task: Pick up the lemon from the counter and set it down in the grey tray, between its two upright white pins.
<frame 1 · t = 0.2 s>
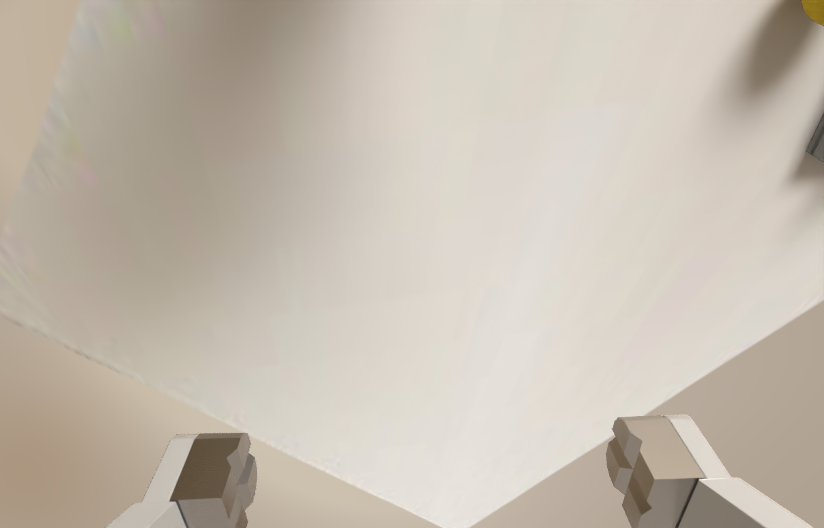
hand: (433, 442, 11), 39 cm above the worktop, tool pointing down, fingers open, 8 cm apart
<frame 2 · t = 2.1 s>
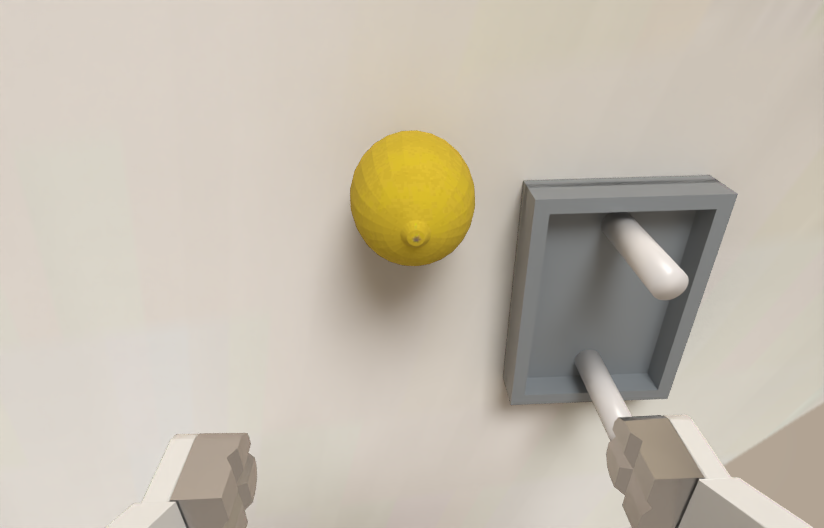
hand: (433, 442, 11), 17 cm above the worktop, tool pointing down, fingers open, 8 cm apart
lemon: (409, 164, 26), on the worktop
tray: (594, 287, 30), on the worktop
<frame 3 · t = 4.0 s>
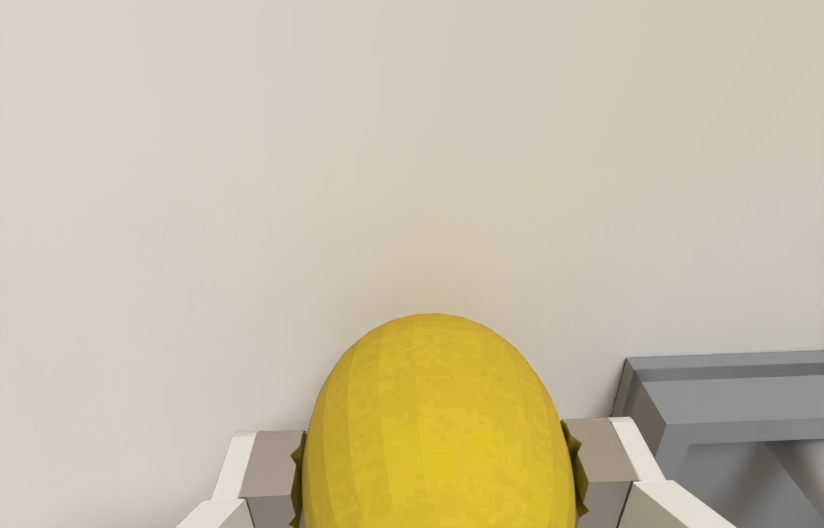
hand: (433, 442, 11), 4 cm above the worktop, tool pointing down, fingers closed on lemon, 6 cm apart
lemon: (423, 334, 14), on the worktop, touching gripper
tray: (722, 497, 19), on the worktop
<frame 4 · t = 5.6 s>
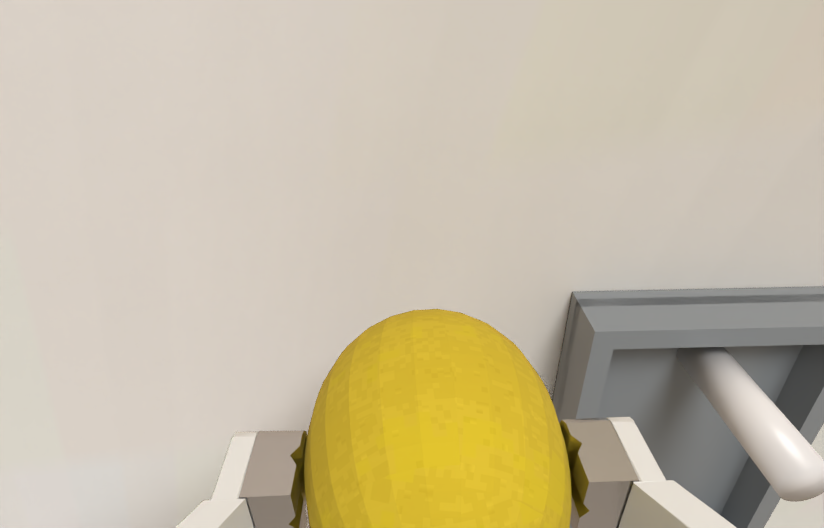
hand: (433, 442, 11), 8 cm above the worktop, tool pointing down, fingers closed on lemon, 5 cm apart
lemon: (423, 331, 15), point 4 cm above the worktop, touching gripper
tray: (656, 417, 23), on the worktop
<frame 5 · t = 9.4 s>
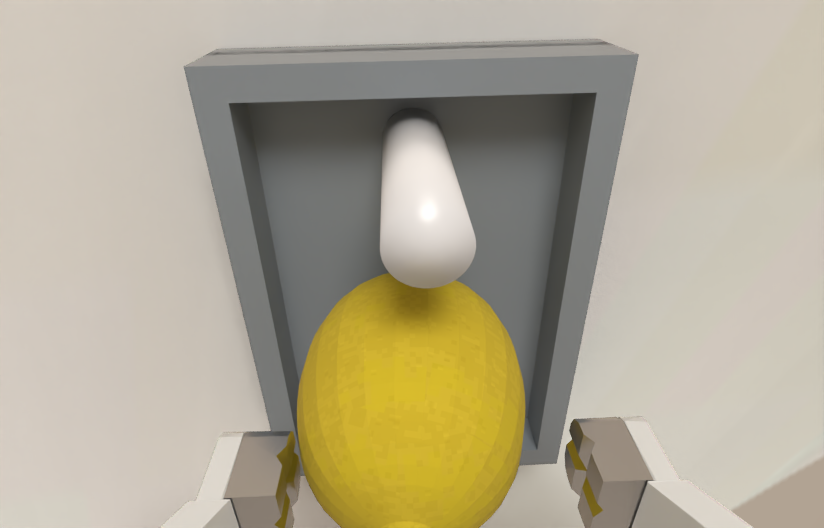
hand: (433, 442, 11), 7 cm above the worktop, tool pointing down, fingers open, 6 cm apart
lemon: (415, 289, 16), point 1 cm above the worktop, touching tray
tray: (414, 270, 17), on the worktop
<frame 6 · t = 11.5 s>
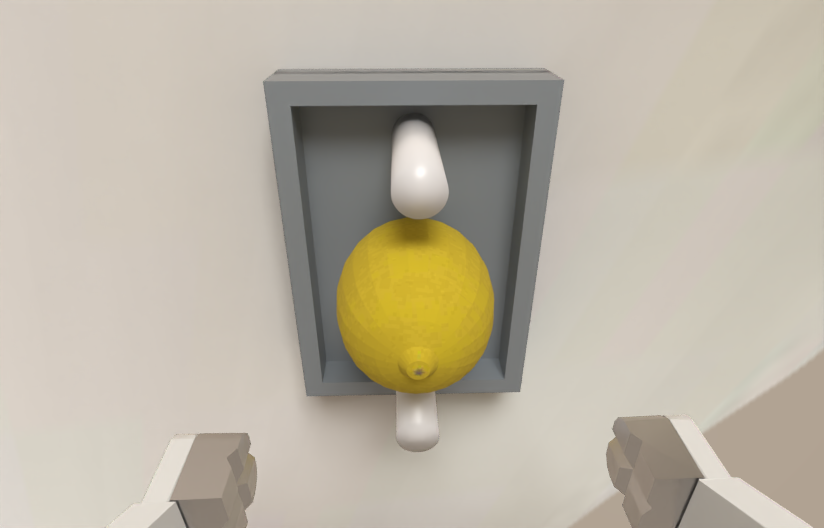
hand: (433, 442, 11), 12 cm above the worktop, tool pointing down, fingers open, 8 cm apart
lemon: (412, 248, 22), point 1 cm above the worktop, touching tray
tray: (412, 236, 22), on the worktop
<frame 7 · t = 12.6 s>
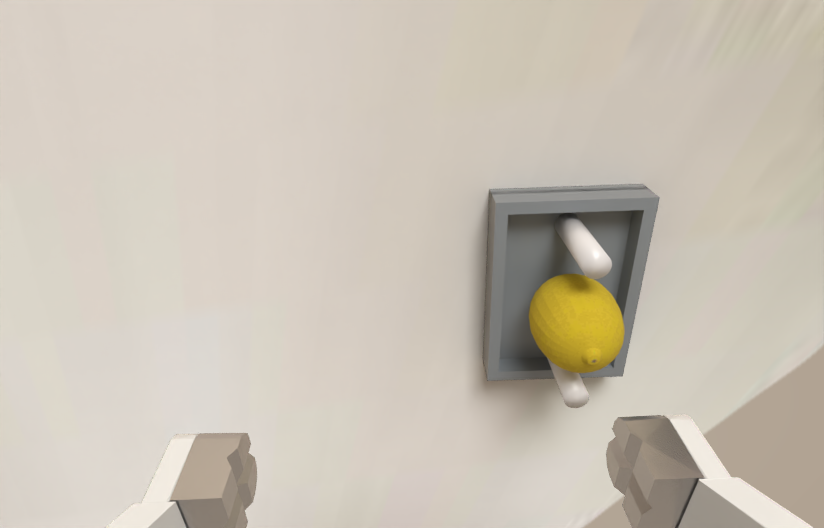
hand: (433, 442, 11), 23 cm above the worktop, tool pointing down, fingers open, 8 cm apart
lemon: (558, 287, 36), point 1 cm above the worktop, touching tray
tray: (555, 279, 36), on the worktop
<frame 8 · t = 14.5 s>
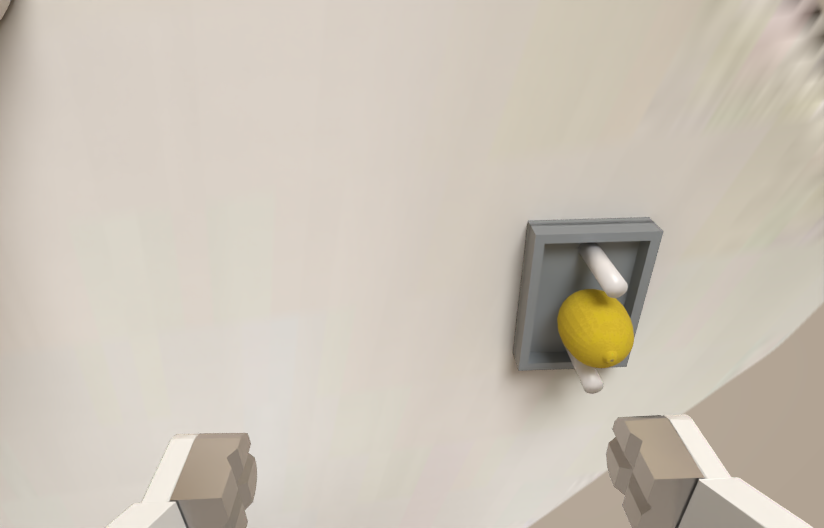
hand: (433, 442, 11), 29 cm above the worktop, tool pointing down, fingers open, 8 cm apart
lemon: (578, 296, 44), point 1 cm above the worktop, touching tray
tray: (575, 290, 45), on the worktop
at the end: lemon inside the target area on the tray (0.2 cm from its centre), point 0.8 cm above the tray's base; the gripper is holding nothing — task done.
